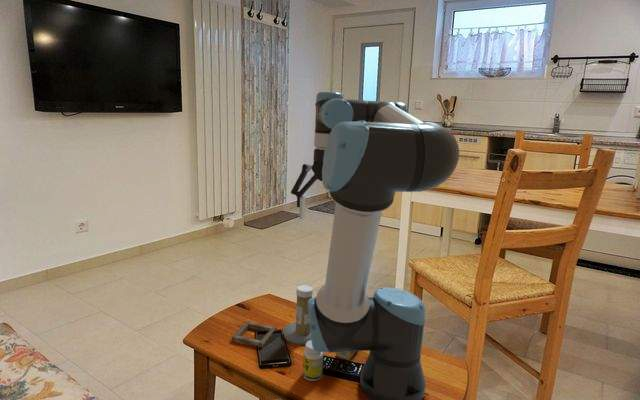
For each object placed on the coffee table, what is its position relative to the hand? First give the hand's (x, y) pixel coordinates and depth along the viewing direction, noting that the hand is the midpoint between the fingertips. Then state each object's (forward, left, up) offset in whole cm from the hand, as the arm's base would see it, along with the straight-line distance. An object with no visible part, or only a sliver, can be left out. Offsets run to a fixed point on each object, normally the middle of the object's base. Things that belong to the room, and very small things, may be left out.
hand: (323, 221), depth 123 cm
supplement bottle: (-7, +27, -32) cm, 42 cm away
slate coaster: (+2, +10, -32) cm, 33 cm away
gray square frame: (+14, +16, -32) cm, 38 cm away
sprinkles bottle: (+2, +10, -31) cm, 33 cm away
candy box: (-13, +13, -32) cm, 37 cm away
